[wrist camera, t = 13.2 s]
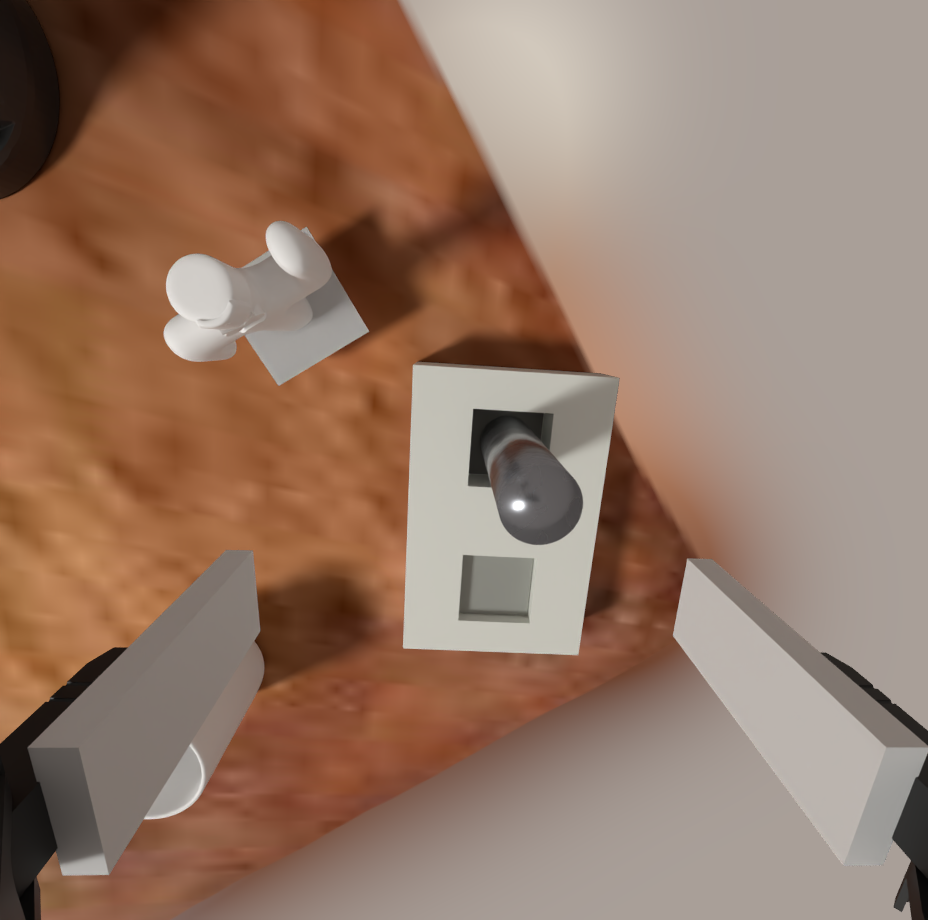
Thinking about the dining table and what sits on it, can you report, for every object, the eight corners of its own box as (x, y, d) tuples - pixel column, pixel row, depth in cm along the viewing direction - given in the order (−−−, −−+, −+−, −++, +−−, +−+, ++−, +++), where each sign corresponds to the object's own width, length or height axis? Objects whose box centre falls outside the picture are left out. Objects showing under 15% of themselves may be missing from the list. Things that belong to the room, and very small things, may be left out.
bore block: (417, 361, 34) (413, 364, 31) (601, 373, 35) (619, 378, 31) (407, 618, 40) (403, 648, 36) (566, 624, 41) (578, 654, 37)
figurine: (225, 300, 33) (47, 270, 18) (335, 230, 32) (239, 141, 17) (284, 388, 35) (163, 424, 20) (390, 324, 34) (344, 314, 19)
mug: (117, 662, 40) (3, 773, 30) (228, 601, 39) (148, 696, 29) (179, 730, 43) (92, 856, 32) (287, 674, 41) (232, 787, 31)
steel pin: (482, 414, 34) (501, 462, 21) (534, 417, 35) (588, 467, 21) (478, 465, 35) (494, 543, 22) (529, 468, 36) (577, 546, 22)
